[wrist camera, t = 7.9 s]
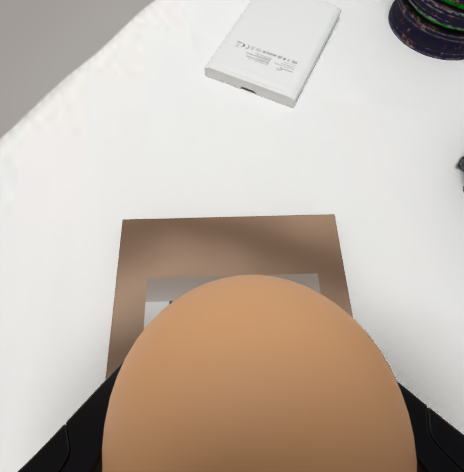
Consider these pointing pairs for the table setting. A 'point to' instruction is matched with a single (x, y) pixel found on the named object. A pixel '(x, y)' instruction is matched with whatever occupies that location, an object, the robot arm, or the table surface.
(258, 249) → the jig
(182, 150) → the table surface
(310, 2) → the external hard drive
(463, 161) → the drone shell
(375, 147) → the table surface
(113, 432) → the ball
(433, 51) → the storage jar
